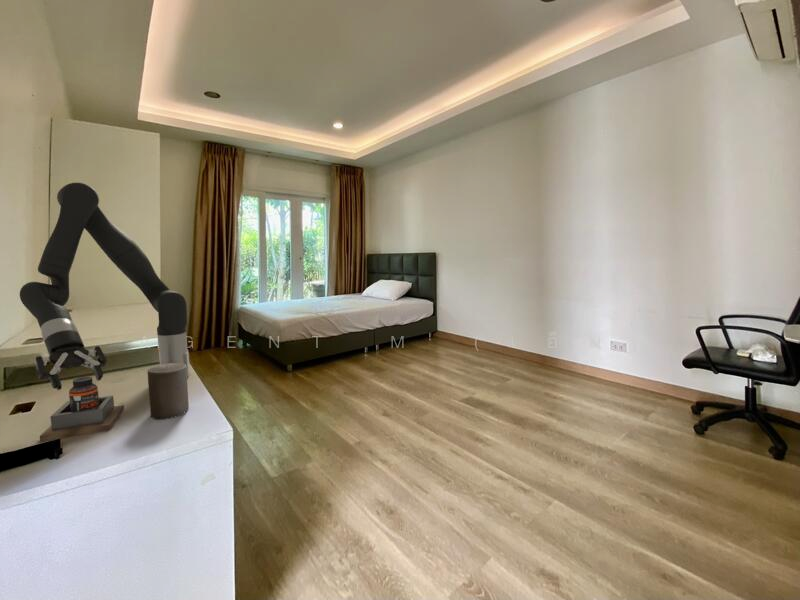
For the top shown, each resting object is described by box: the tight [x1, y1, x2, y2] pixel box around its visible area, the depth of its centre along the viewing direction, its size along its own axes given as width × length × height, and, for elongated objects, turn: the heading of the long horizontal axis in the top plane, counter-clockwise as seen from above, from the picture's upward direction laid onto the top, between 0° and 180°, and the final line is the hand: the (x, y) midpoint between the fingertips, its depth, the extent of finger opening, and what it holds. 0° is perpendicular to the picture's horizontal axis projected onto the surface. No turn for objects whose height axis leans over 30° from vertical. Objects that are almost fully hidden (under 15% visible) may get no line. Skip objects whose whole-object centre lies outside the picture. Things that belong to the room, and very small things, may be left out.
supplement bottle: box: [68, 376, 99, 412], centre depth 98 cm, size 6×6×11 cm
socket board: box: [39, 405, 125, 442], centre depth 98 cm, size 14×14×2 cm
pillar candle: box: [147, 363, 190, 420], centre depth 105 cm, size 10×10×15 cm
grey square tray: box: [50, 395, 115, 431], centre depth 98 cm, size 10×10×4 cm
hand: (80, 383), depth 98 cm, fingers open, 8 cm apart
